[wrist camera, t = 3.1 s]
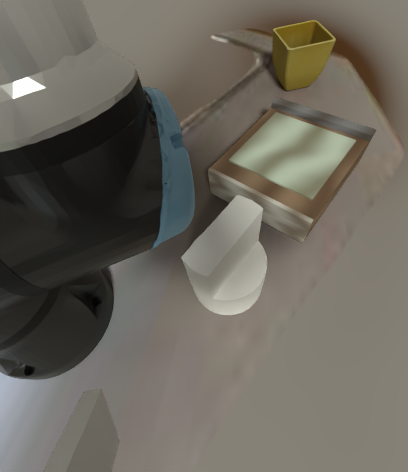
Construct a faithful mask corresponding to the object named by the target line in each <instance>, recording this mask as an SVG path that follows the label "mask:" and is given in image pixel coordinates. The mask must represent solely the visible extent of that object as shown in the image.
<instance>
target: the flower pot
mask: <svg viewBox="0 0 408 472" xmlns="http://www.w3.org/2000/svg"><path fill="white" fill-rule="evenodd" d="M335 41H336V39H335V37H334V36H333V35H332V34H331V33H330V32H329V31H327V30H326V29H325V28H324V27H323V26H322V25H321V24H320V23H319V22H318V21H316V20H312V21H307V22H303V23H298V24H293V25H288V26H283V27H278V28H275V29H273V65H274V69H275V72H276V75H277V78H278V80H279V81H280V83H281V84H282V86H283V87H284V89H285V90H286V91H289V90H294V89H299V88H303V87H308V86H310V85H311V84H312V83H313V82H314V81H315V80H316V79H317V77H318V76H319V75H320V73H321V72H322V70H323V68H324V67H325V64H326V62H327V60H328V57H329V55H330V53H331V50H332V48H333V46H334V43H335Z"/></svg>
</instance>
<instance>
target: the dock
mask: <svg viewBox="0 0 408 472" xmlns="http://www.w3.org/2000/svg"><path fill="white" fill-rule="evenodd" d="M375 132H376V129H373V128H370V127H367V126H363V125H360V124H357V123H354V122H351V121H348V120H345V119H342V118H339V117H336V116H333V115H330V114H326V113H323V112H320V111H317V110H314V109H311V108H308V107H305V106H302V105H299V104H296V103H293V102H289V101H286V100H283V99H280V98H276V99H275V100H274V101H273V102H272V106H271V109H269V110H268V111H267V112H266V113H265V114H264V115H263V116H262V117H261V118H260V119H259V120H258V121H257V122H256V123H255V124H254V125H253V126H252V127H251V128H250V129H249V130H248V131H247V132H246V133H245V134H244V135H243V136H242V137H241V138H240V139H239V140H238V141H237V142H236V143H235V144H234V145H233V146H232V147H231V148H230V149H229V150H228V151H227V152H226V153H225V154H224V155H223V156H222V157H220V158H219V159H218V160H217V161H216V162H215V163H214V164H213V165H212V166H211V167H210V168H209V169H208V176H209V184H210V192H211V193H212V194H214V195H216V196H218V197H219V198H221V199H223V200H225V201H227V202H228V203H230V202H231V201H232V200H233V199H234V198H235V197H236V196H237V195H240V196H243V197H245V198H248V199H251V200H252V201H254V202H255V203H257V204H258V205H260V206H261V207H262V208H263V214H262V220H261V221H263V222H264V223H266V224H268V225H270V226H272V227H273V228H275V229H277V230H279V231H281V232H282V233H284V234H286V235H288V236H290V237H292V238H293V239H295V240H297V241H299V242H301V243H302V242H303V241H304V240H305V238H306V237H307V235H308V234H309V232H310V231H311V230H312V228H313V227H314V225H315V224H316V222H317V221H318V220H319V218H320V217H321V215H322V214H323V212H324V211H325V210H326V208H327V207H328V205H329V204H330V202H331V201H332V200H333V198H334V197H335V195H336V194H337V192H338V191H339V190H340V188H341V187H342V185H343V184H344V182H345V181H346V180H347V178H348V177H349V175H350V174H351V172H352V171H353V170H354V168H355V167H356V165H357V164H358V162H359V161H360V159H361V157H362V155H363V154H364V152H365V150H366V148H367V146H368V144H369V143H370V141H371V139H372V137H373V135H374V133H375Z"/></svg>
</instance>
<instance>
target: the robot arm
mask: <svg viewBox="0 0 408 472" xmlns="http://www.w3.org/2000/svg"><path fill="white" fill-rule="evenodd" d="M194 211H195V189H194V181H193V175H192V169H191V164H190V159H189V155H188V152H187V149H186V148H185V146H184V145H183V139H182V132H181V128H180V125H179V122H178V119H177V116H176V114H175V112H174V110H173V107H172V105H171V103H170V102H169V100H168V98H167V97H166V95H165V94H163V92H161V91H160V90H159V89H157V88H150V87H143V88H142V86H141V83H140V80H139V77H138V74H137V71H136V68H135V66H134V64H132V62H130V61H129V60H127V59H125V58H124V57H122V56H121V55H119V54H117V53H116V52H115V51H113V50H111V49H110V48H108V47H107V46H105V44H103V42H102V41H101V40H100V39H99V38H98V37H97V36H96V33H95V30H94V28H93V25H92V23H91V20H90V18H89V15H88V13H87V10H86V8H85V5H84V3H83V0H0V372H1V373H3V374H5V375H7V376H10V377H14V378H19V379H34V380H38V379H47V378H51V377H55V376H58V375H60V374H62V373H65V372H66V371H68V370H70V369H72V368H73V367H75V366H76V365H78V364H79V363H80V362H81V361H83V360H84V359H85V358H86V357H87V356H88V355H89V354H90V353H91V352H92V351H93V349H94V348H95V347H96V346H97V344H98V343H99V341H100V340H101V338H102V337H103V335H104V333H105V331H106V329H107V326H108V324H109V321H110V318H111V314H112V308H113V293H112V288H111V285H110V282H109V280H108V278H107V277H106V275H105V274H104V273H103V272H102V271H101V270H100V269H103V268H105V267H108V266H110V265H113V264H115V263H118V262H120V261H122V260H125V259H127V258H130V257H132V256H135V255H137V254H139V253H142V252H144V251H147V250H149V249H150V250H151V249H153V248H156V247H157V246H159V244H160V243H162V242H164V241H166V240H168V239H170V238H172V237H174V236H176V235H178V234H180V233H182V232H183V231H184V230H186V229H187V228H188V226H189V225H190V223H191V221H192V219H193V216H194ZM119 442H120V439H119V436H118V433H117V430H116V428H115V425H114V422H113V419H112V416H111V414H110V411H109V408H108V405H107V402H106V399H105V397H104V394H103V391H102V389H97V390H92V391H88V392H83V394H82V396H81V398H80V400H79V402H78V404H77V406H76V408H75V410H74V412H73V414H72V416H71V418H70V420H69V422H68V424H67V426H66V428H65V430H64V432H63V434H62V436H61V438H60V440H59V442H58V444H57V446H56V448H55V449H54V451H53V453H52V455H51V457H50V459H49V461H48V463H47V465H46V467H45V469H44V471H43V472H111V471H112V468H113V464H114V460H115V457H116V453H117V449H118V446H119Z"/></svg>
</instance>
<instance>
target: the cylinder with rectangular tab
mask: <svg viewBox="0 0 408 472" xmlns="http://www.w3.org/2000/svg"><path fill="white" fill-rule="evenodd" d="M262 214H263V208H262V207H261V206H260V205H258V204H257V203H255V202H254V201H252V200H251V199H248V198H245V197H243V196H240V195H237V196H236V197H235V198H234V199H233V200H232V201H231V202H230V203H229V205H228V206H227V207H226V208H225V209H224V210H223V211H222V212H221V213H220V215H219V216H218V217H217V218H216V219H215V220H214V221H213V222H212V223H211V225H210V226H209V227H208V228H207V229H206V230H205V231H204V232H203V233H202V234H201V235H200V236H199V237H198V238H197V239H196V240H195V241H194V242H193V244H192V245H191V246H190V248H189V249H188V250H187V251H186V252H185V254H184V255H183V256H182V257H181V259H182V261H183V263H184V266H185V268H186V271H187V275H188V278H189V280H190V282H191V285H192V287H193V290H194V292H195V294H196V296H197V298H198V300H199V301H200V302H201V303H202V304H203V305H204V306H205V307H206V308H207V309H209V310H210V311H212V312H214V313H218V314H221V315H234V314H238V313H242V312H244V311H245V310H247V309H249V308H250V307H251V306H252V305H253V304H254V303H255V302H256V301H257V299H258V297H259V295H260V293H261V290H262V286H263V282H264V278H265V275H266V269H267V257H266V253H265V251H264V248H263V246H262V245H261V243H260V242H259V241H258V239H259V233H260V227H261V220H262Z"/></svg>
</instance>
